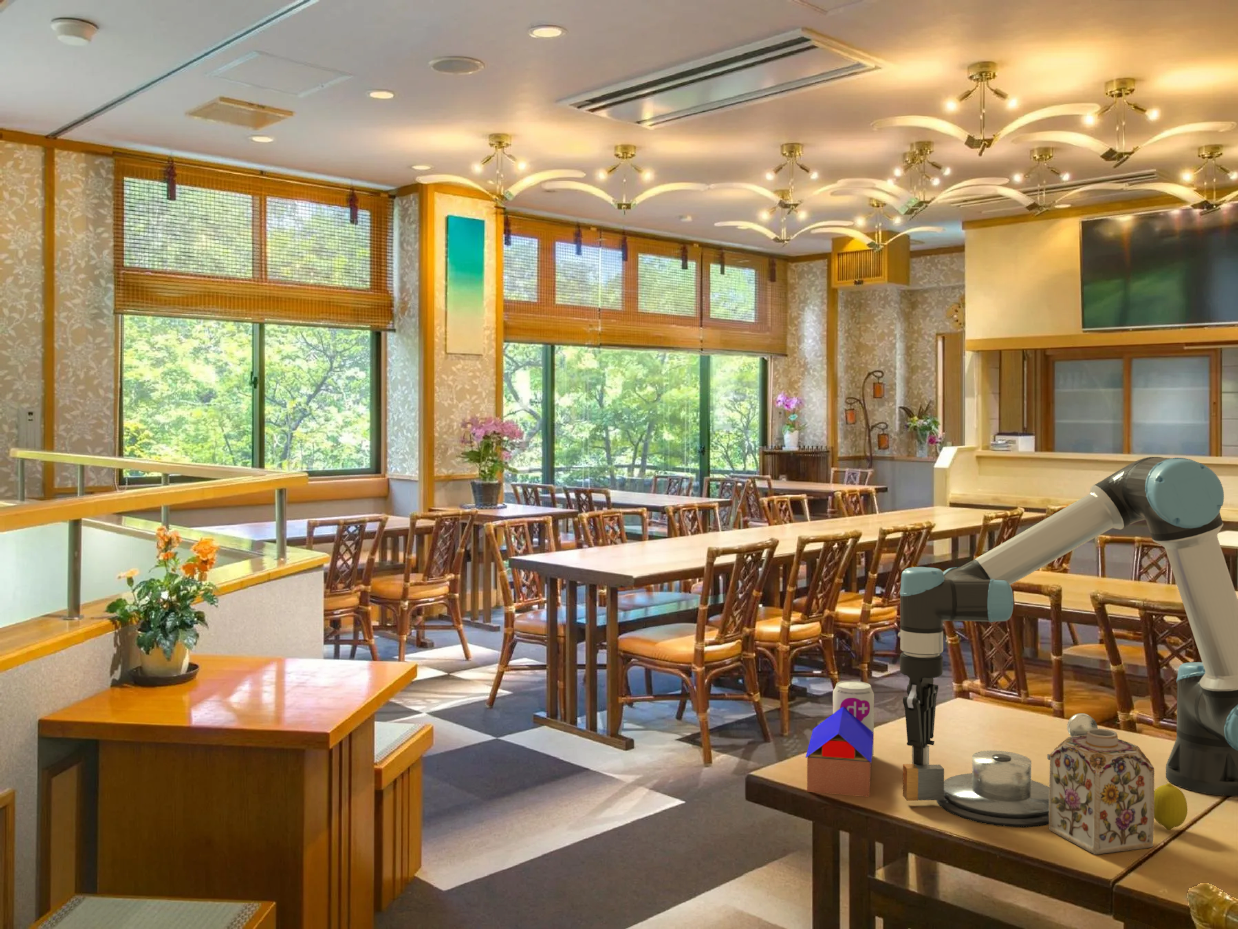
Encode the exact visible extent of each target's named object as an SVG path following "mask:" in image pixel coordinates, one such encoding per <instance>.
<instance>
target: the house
mask: <svg viewBox="0 0 1238 929" xmlns="http://www.w3.org/2000/svg"><path fill="white" fill-rule="evenodd" d="M872 747H873V732H872V731H871V730H870V729H869V728H867V727H866V726H865V725H864V724H863V723H862V722H861V721H859V720H858V719H857V718H856V717H855V716H853V715H852V714H851V713H850V712H849V711H848V710H847V709H846V708H845V707H844V706H843V707H842V708H840V709H839V710H838V711H836V712H835V713H834V714H833V713H832V714H831V715H830V716H828V717H826V718H825V719H824V720H823V721H822V722H820V723H819V724H818V725H816V726H815V727H814V728H812V732H811V736H810V739H809V743H808V747H807V750H806V754H805V758H806V763H807V764H806V768H807V770H806V775H807V776H806V791H807V793H808V792H809V793H810V792H811V793H820V794H833V795H844V796H856V797H870V790H871V789H870V788H871V777H872V760H873V759H872V758H873V757H872Z"/></svg>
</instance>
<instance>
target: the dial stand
mask: <svg viewBox="0 0 1238 929" xmlns="http://www.w3.org/2000/svg"><path fill="white" fill-rule="evenodd" d="M1066 725H1067V726H1066V727H1067V728H1066V729H1067V733H1068V734H1069V735H1070V736H1069V737H1072V736H1082V735H1087V731H1088V730H1090V729H1099V727H1098V723H1097V722H1096V720H1095V719H1094V718H1093V717H1092V716H1090V715H1089V714H1087V713H1076V714H1074V715H1072V716H1071V717H1070V718H1069V720H1068V721H1067V724H1066ZM1050 754H1051V753H1050ZM1050 754H1049V753H1048V754H1047V760H1048V761H1050Z"/></svg>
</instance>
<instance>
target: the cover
mask: <svg viewBox="0 0 1238 929" xmlns="http://www.w3.org/2000/svg"><path fill="white" fill-rule="evenodd" d="M971 759H972V760H971V761H972V762H971V764H972V765H971V766H972V767H971V772H972V791H973V792H974V793H975V794H977V795H979V796H981V797H984V798H988V799H992V800H997V801H1008V802H1014V801H1023V800H1026V799H1029V798H1030V797H1031V780H1032V760H1031V759H1030V758H1029V757H1027V756H1025V755H1023V754H1019V753H1016V752H1011V751H1007V750H1006V751H1004V750H983V751H982V750H981V751H976V752H975V753H973V754H972V757H971Z"/></svg>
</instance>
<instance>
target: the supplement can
mask: <svg viewBox="0 0 1238 929" xmlns="http://www.w3.org/2000/svg"><path fill="white" fill-rule="evenodd" d="M843 706H844V707H845V708H846V709H847V710H848V711H849V712H850V713H851V714H852V715H853V716H855V717H856V718H857V719H858V720H859V721H861V722H862V723H863V724H864V725H865V726H866V727H867V728H869V729H870V730H871V731H872V732H873V747H872V758H873V756H874V753H875V752H874V745H875V744H874V743H875V742H874V739H875V738H874V734H875V732H874V730H875V726H874V723H875V720H874V718H875V716H874V715H875V693H874V691H873V689H872V685H871V684H870V683H867V682H864V681H859V680H858V681H857V680H843V681H839V682H836V684H835V687H834V689H833V690H832V714H834V713H835V712H836V711H838V710H839V709H840V708H842V707H843Z"/></svg>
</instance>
